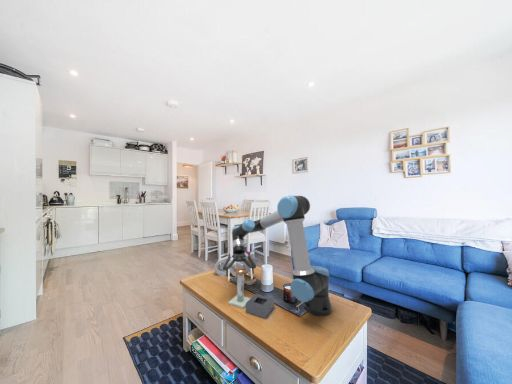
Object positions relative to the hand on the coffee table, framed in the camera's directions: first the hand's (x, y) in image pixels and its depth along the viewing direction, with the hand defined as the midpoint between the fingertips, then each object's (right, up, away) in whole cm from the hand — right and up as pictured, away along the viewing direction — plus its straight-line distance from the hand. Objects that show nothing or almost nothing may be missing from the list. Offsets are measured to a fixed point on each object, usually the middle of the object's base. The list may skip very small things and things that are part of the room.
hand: (240, 280), depth 123 cm
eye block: (+11, -13, -7) cm, 19 cm away
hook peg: (0, -12, +1) cm, 12 cm away
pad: (0, -13, +1) cm, 13 cm away
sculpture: (-14, -13, +41) cm, 46 cm away
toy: (+1, -13, +38) cm, 40 cm away
